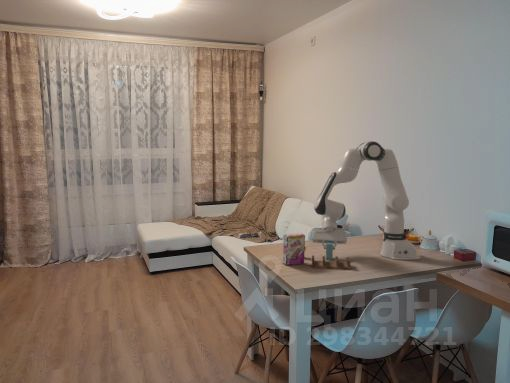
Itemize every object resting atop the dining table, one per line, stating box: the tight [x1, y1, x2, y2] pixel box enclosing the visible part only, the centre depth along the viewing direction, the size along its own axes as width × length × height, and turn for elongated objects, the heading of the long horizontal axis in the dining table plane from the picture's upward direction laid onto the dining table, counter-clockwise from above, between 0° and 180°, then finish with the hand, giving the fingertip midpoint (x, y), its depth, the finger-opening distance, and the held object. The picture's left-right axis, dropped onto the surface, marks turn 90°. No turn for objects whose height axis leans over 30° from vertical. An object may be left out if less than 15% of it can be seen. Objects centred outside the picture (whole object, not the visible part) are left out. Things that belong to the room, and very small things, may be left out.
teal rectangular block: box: [325, 242, 334, 261], centre depth 237 cm, size 4×4×9 cm
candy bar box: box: [282, 232, 306, 266], centre depth 226 cm, size 11×5×16 cm, turn 111°
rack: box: [311, 255, 351, 271], centre depth 224 cm, size 20×10×4 cm, turn 83°
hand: (329, 248), depth 236 cm, fingers closed on teal rectangular block, 3 cm apart
